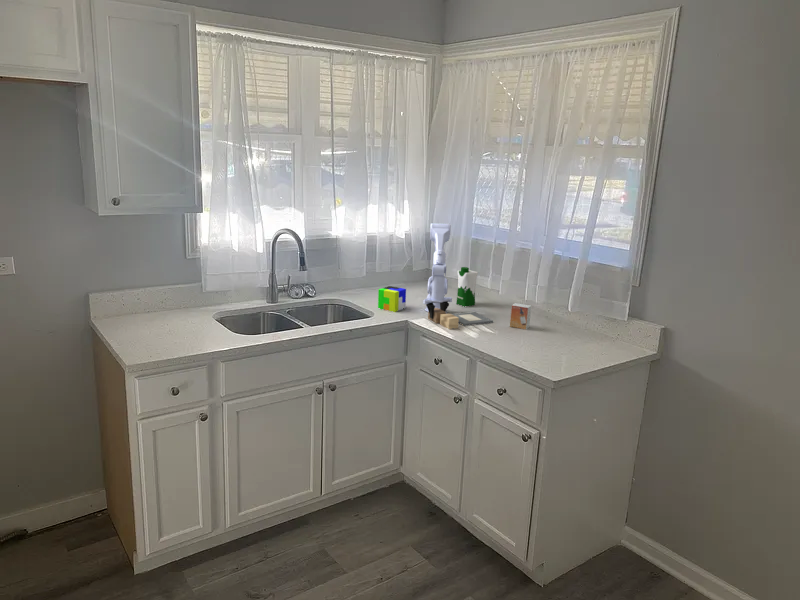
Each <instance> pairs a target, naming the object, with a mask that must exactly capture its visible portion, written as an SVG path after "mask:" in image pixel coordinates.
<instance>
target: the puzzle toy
mask: <svg viewBox="0 0 800 600" xmlns="http://www.w3.org/2000/svg"><path fill="white" fill-rule="evenodd" d="M377 295H378V297H377V299H378V300H377V309H378V308H380V309H379V310H382V309H385V310H384V311H387V310H389V311H388V312H392V311H393V312H392V313H396V312H398V310H399V311H402V310H404V309H406V302H407V301H406V300H407V299H406V297H407V288H403V287H397V286H393V285H392V286H391V285H389V286H385V287H382V288H378V293H377ZM403 308H404V309H403Z"/></svg>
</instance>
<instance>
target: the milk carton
mask: <svg viewBox="0 0 800 600" xmlns="http://www.w3.org/2000/svg"><path fill="white" fill-rule="evenodd" d="M478 274H479V272H478V271H475V270H470V268H469V267H466V266H462V267H460V270H457V278H458V279H457V292H456V293H457V295H456V296H457V297H456V303H455V304H456V305H458V304H459V305H458V306H460V305H462V306H461V307H463V306H464V308H466V307H465V306H469V307H473V306H472V305H475V306H476V288H477V287H476V285H477V277H478Z"/></svg>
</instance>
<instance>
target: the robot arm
mask: <svg viewBox="0 0 800 600" xmlns="http://www.w3.org/2000/svg"><path fill="white" fill-rule="evenodd" d="M451 227H452V226H451V223H439V222H438V223H437V222H436V223H434V222H431V223H430V227H429V229H430V230H429V232H430V233H429V236H430V237H429V238H430V241H432V242H433V244H434V252H433V263H432V266H431V267H432V268H431V276H430V277H429V278H428V281H427V296H426V298H425V299H423V300H422V304H423V305H425V306H426V307H425V308H424V311H425V312H427V313H428V311H429V315H430V318H431V319H433V317H434V308H439V309H441V310H443V311H445V312H446V314H448V312H447V309H448V307H449V306H450V303H453V298H452V297H451V296H449V297H446V295H447V294H448V288H449V287H448V286H449V285H448V278H447V263H446V261H447V260H446V257H447V254H446V252H445V251H444V247H445V244H446V243H448V242H449V240H450V237H451Z"/></svg>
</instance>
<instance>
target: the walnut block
mask: <svg viewBox="0 0 800 600" xmlns="http://www.w3.org/2000/svg"><path fill="white" fill-rule="evenodd" d="M446 312H447V311H443V310H441V309H439V308H434V317H433V319H431V318H430V315H429V311H428V312H427V314H428V315H427V319H428V320H429V321H431V322H433V323H434V324H440V316H441V314H447V313H446Z"/></svg>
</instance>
